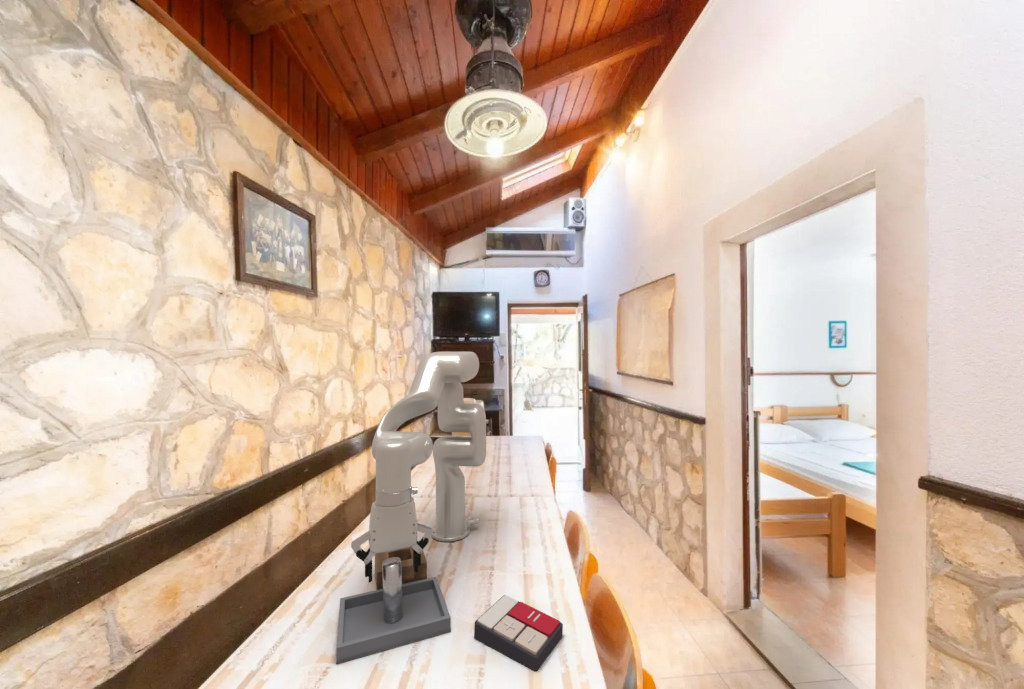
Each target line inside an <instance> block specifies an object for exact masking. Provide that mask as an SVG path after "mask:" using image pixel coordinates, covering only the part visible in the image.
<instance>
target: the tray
mask: <svg viewBox="0 0 1024 689" xmlns="http://www.w3.org/2000/svg"><path fill="white" fill-rule="evenodd" d="M402 606H403V616H402V618H401V619H400V620H399V621H397V622H395V623H386V622H385V621H384V609H383V589H379V590H376V589H374V590H371V591H367V592H366V591H365V592H363V593H362V592H361V593H358V594H353V595H349V596H344V597H340V598H339V609H338V625H337V639H336V665H339V664H343V663H345V662H346V663H347V662H350V661H354V660H356V659H360V658H364V657H367V656H370V655H375V654H377V653H381V652H385V651H388V650H391V649H395V648H396V649H397V648H399V647H403V646H405V645H409V644H413V643H416V642H420V641H423V640H427V639H430V638H434V637H437V636H441V635H445V634H448V633H451V631H452V630H451V629H452V628H451V627H452V626H451V624H452V623H451V622H452V620H451V615H450V611H449V609H448V606H447V603H446V600H445V598H444V595H443V592H442V589H441V587H440V584H439V581H438V577H437V576H434V577H429V578H428V577H427V579H424V580H419V581H415V582H410V583H406V584H402Z"/></svg>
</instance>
